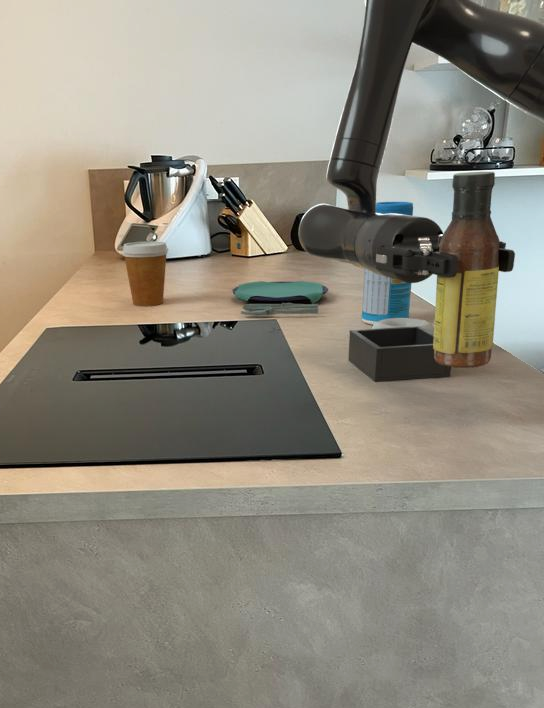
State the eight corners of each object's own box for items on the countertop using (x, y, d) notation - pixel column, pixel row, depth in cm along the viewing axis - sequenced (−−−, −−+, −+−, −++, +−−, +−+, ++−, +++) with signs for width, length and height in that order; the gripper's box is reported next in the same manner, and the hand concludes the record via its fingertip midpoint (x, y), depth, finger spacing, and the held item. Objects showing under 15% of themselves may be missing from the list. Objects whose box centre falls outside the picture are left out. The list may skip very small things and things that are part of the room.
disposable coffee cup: (152, 297, 170) (148, 240, 166) (180, 302, 164) (177, 242, 159) (116, 303, 165) (112, 244, 160) (143, 309, 158) (140, 247, 153)
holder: (417, 356, 117) (419, 325, 115) (450, 376, 106) (453, 343, 105) (348, 360, 116) (349, 330, 114) (374, 381, 105) (376, 348, 104)
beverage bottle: (357, 325, 137) (364, 205, 129) (363, 316, 144) (370, 201, 137) (407, 327, 134) (417, 204, 127) (411, 317, 142) (420, 200, 134)
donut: (371, 351, 121) (438, 350, 119) (372, 329, 120) (440, 328, 118) (368, 337, 130) (430, 335, 128) (368, 316, 129) (432, 314, 127)
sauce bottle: (495, 358, 89) (519, 170, 81) (483, 372, 84) (507, 173, 76) (436, 353, 92) (453, 170, 84) (422, 366, 87) (439, 174, 79)
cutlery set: (327, 290, 171) (328, 279, 170) (328, 318, 144) (329, 305, 143) (236, 290, 174) (236, 280, 173) (221, 318, 147) (221, 305, 146)
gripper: (346, 218, 93) (425, 231, 78) (452, 210, 96) (546, 221, 82) (343, 283, 96) (419, 307, 81) (446, 273, 99) (537, 294, 84)
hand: (482, 264), depth 81 cm, fingers closed on sauce bottle, 6 cm apart
